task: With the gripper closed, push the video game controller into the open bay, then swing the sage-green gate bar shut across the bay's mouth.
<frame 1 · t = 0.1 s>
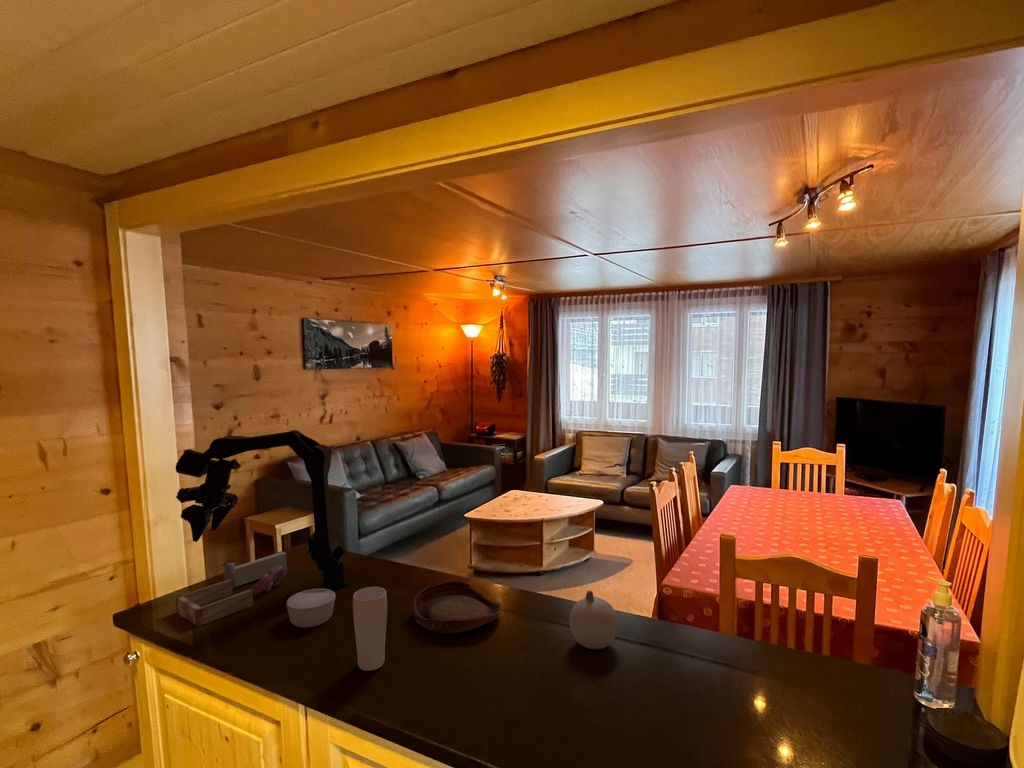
hand: (204, 535, 141), 15 cm above the counter, tool pointing down, fingers open, 9 cm apart
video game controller: (270, 589, 142), on the counter
gate: (256, 567, 148), point 4 cm above the counter, hinge at 90.0°
ramekin: (311, 619, 125), on the counter
drinking glass: (371, 665, 105), on the counter
bay: (217, 607, 131), on the counter
dark brown shallow dish: (457, 619, 125), on the counter
ornament: (593, 646, 112), on the counter
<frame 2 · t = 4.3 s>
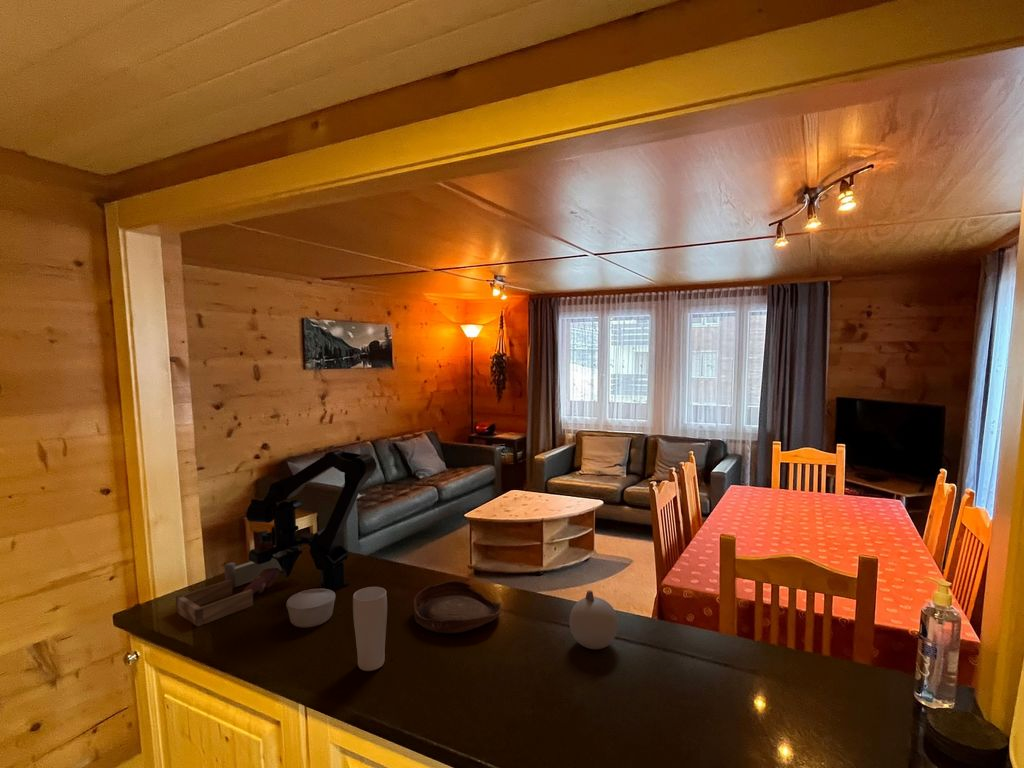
hand: (286, 576, 146), 2 cm above the counter, tool pointing down, fingers closed
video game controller: (263, 590, 141), on the counter, touching gripper
everything else where it was.
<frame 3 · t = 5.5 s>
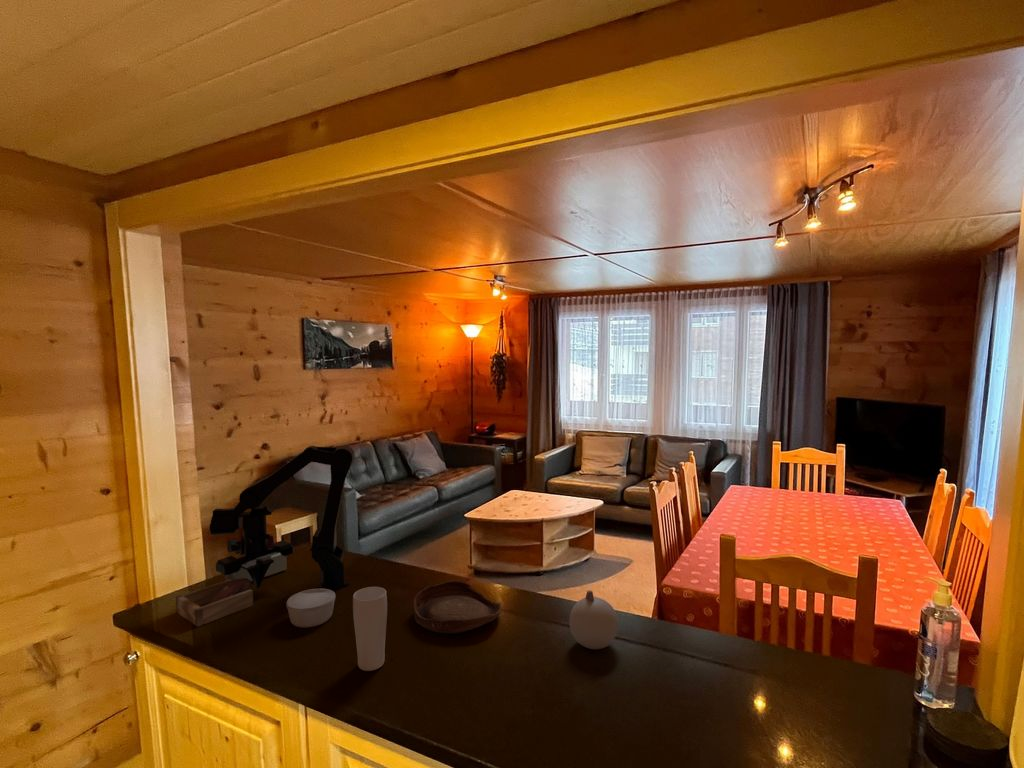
hand: (257, 587, 139), 2 cm above the counter, tool pointing down, fingers closed
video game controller: (231, 602, 135), on the counter, touching bay, gripper
everything else where it was.
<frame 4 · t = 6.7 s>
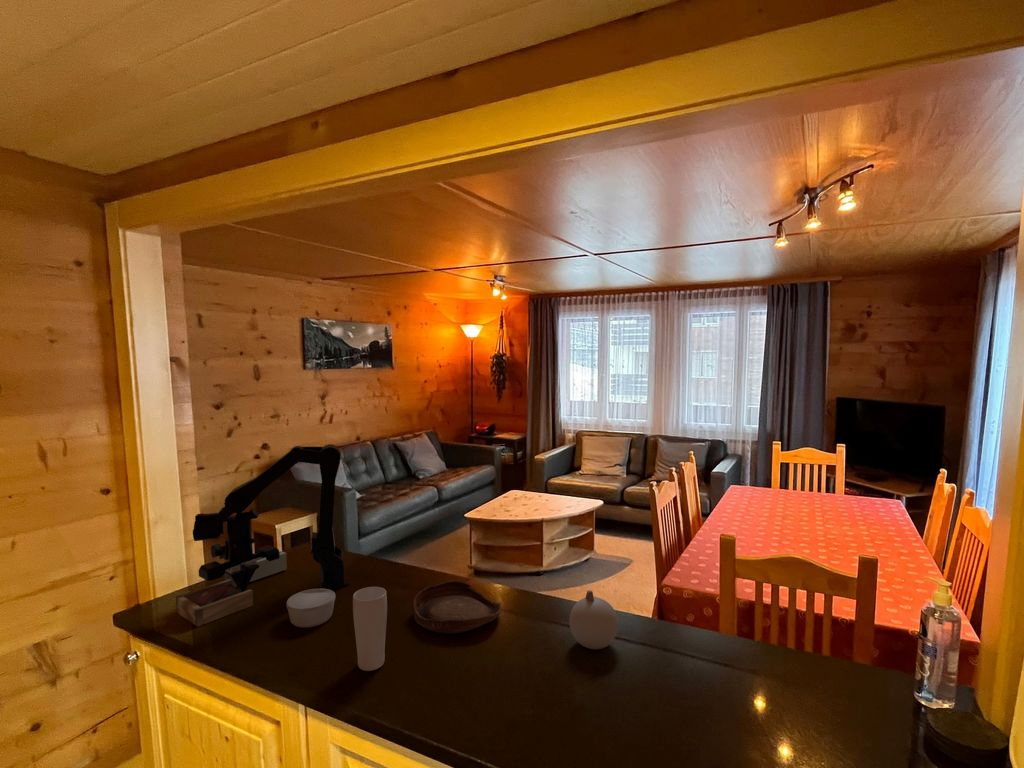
hand: (242, 593, 136), 1 cm above the counter, tool pointing down, fingers closed
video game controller: (214, 608, 131), on the counter, touching gripper
everything else where it was.
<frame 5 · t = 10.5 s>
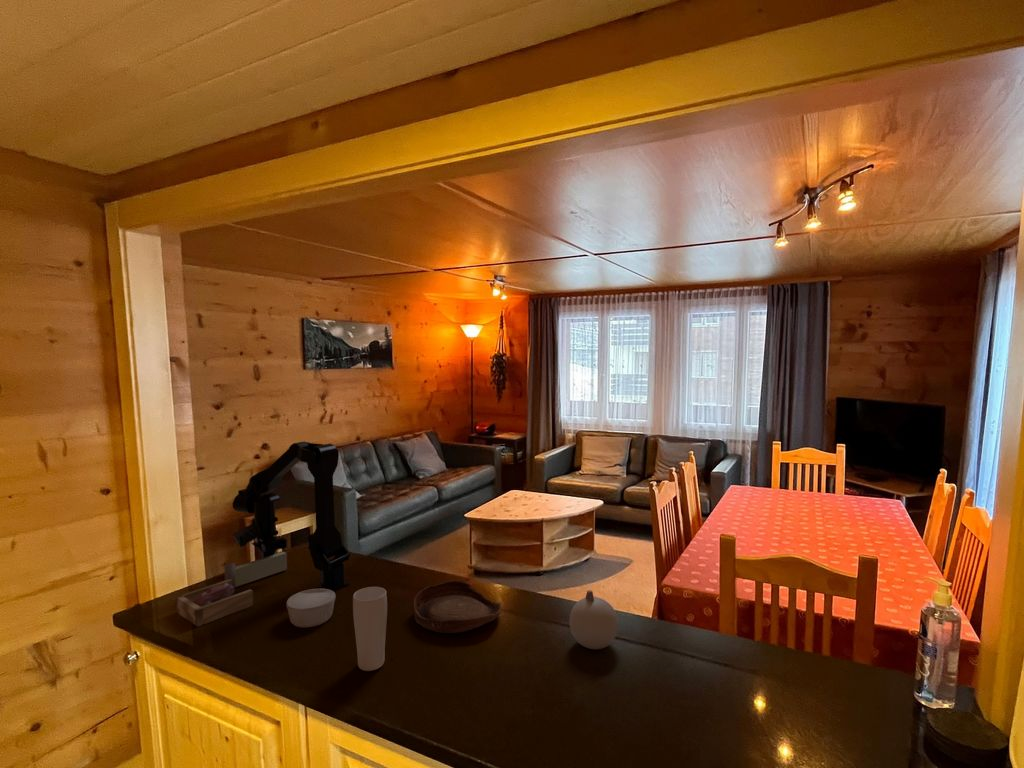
hand: (266, 566, 154), 2 cm above the counter, tool pointing down, fingers closed
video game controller: (213, 608, 131), on the counter
gate: (256, 567, 148), point 4 cm above the counter, hinge at 89.4°, touching gripper
everything else where it was.
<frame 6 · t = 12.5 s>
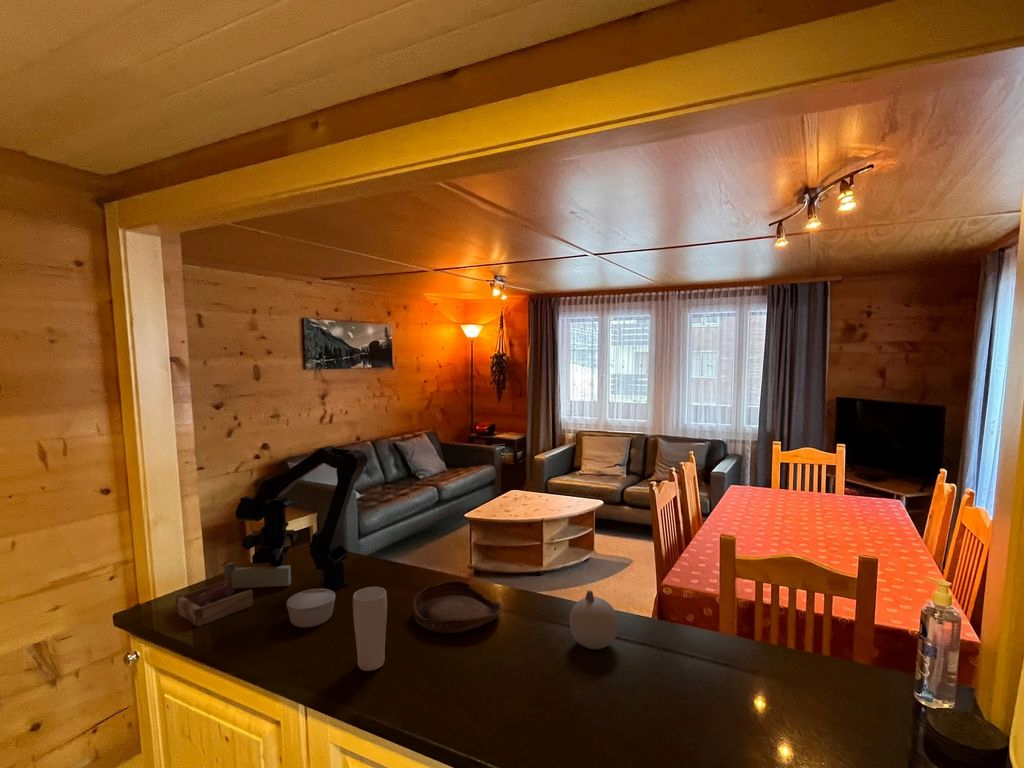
hand: (277, 574, 146), 2 cm above the counter, tool pointing down, fingers closed
gate: (257, 574, 143), point 4 cm above the counter, hinge at 41.9°, touching gripper
everything else where it was.
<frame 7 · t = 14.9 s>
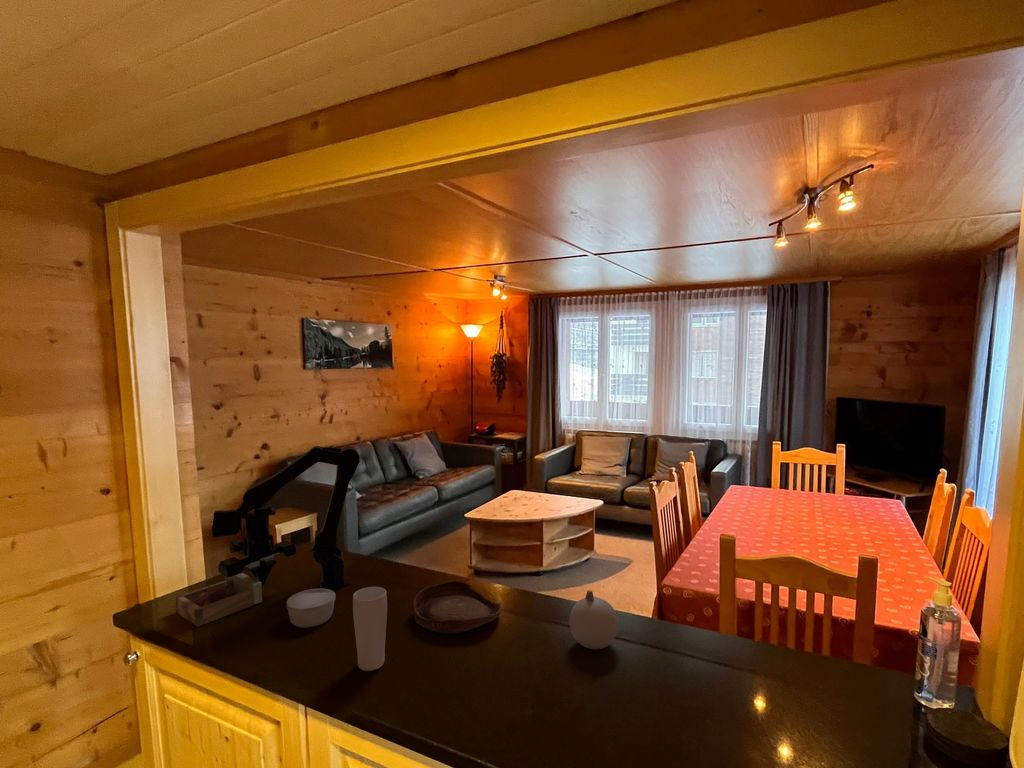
hand: (260, 588, 137), 2 cm above the counter, tool pointing down, fingers closed
gate: (242, 582, 138), point 4 cm above the counter, hinge at -1.1°, touching gripper
everything else where it was.
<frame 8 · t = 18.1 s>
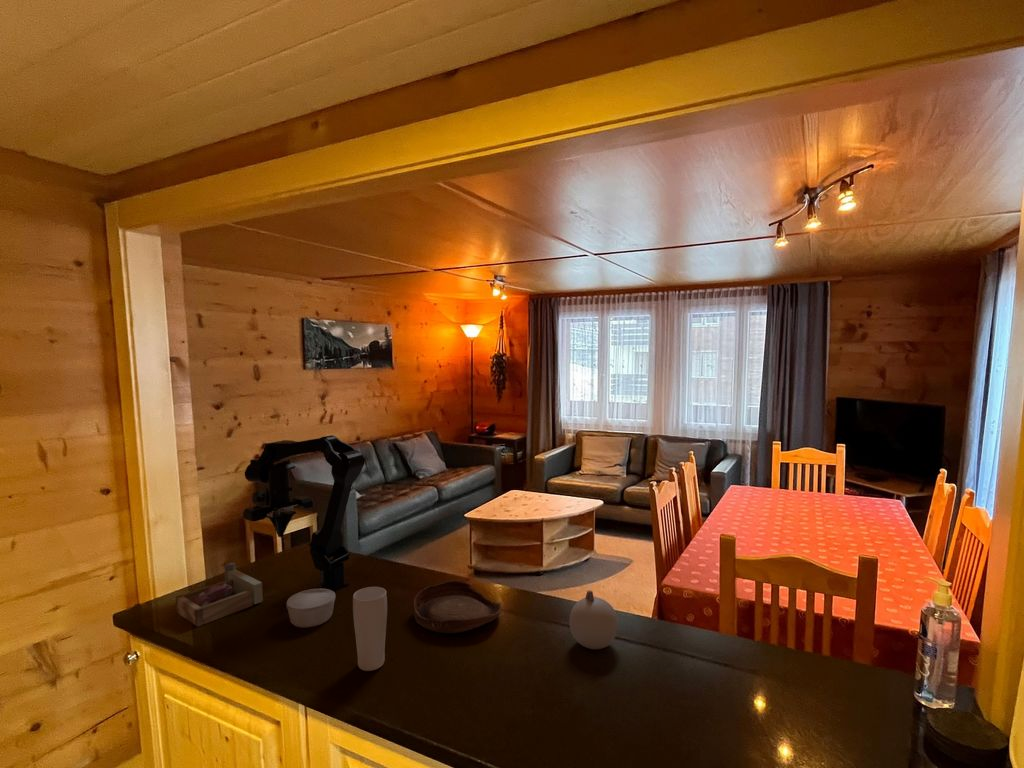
hand: (280, 536, 150), 12 cm above the counter, tool pointing down, fingers closed
gate: (242, 582, 138), point 4 cm above the counter, hinge at -0.7°
everything else where it was.
at the end: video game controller inside the target area on the bay (1.5 cm from its centre), point 0.0 cm above the bay's base; gate at -1° (first picture: +90°); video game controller tilted 0° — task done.
